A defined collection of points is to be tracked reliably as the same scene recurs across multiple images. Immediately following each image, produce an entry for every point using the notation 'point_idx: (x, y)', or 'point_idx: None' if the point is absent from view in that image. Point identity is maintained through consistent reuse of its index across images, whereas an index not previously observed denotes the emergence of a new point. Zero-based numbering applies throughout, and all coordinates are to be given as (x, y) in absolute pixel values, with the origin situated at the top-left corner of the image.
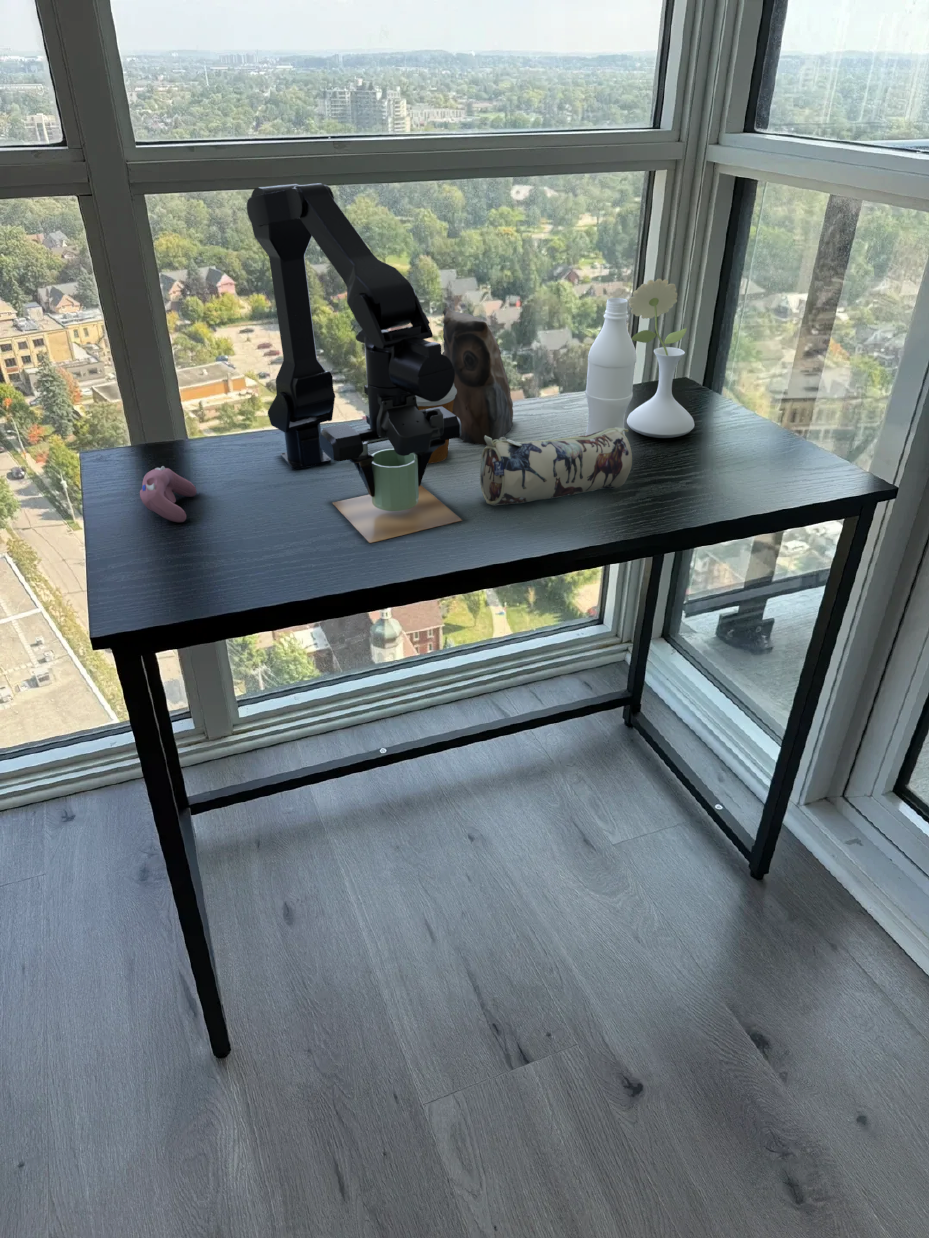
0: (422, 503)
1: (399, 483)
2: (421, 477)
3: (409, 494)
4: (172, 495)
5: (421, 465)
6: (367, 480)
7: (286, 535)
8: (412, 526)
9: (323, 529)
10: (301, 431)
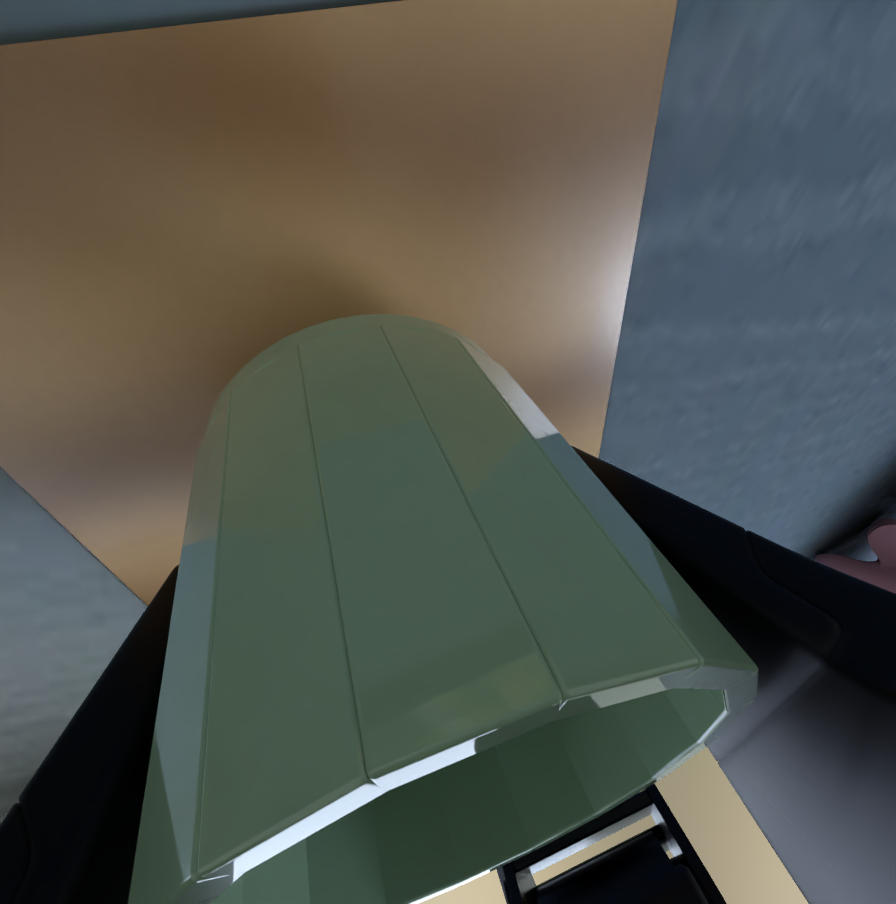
0: (178, 485)
1: (451, 464)
2: (139, 637)
3: (298, 402)
4: (882, 546)
5: (95, 793)
6: (717, 519)
7: (864, 296)
8: (283, 156)
9: (738, 310)
10: None
